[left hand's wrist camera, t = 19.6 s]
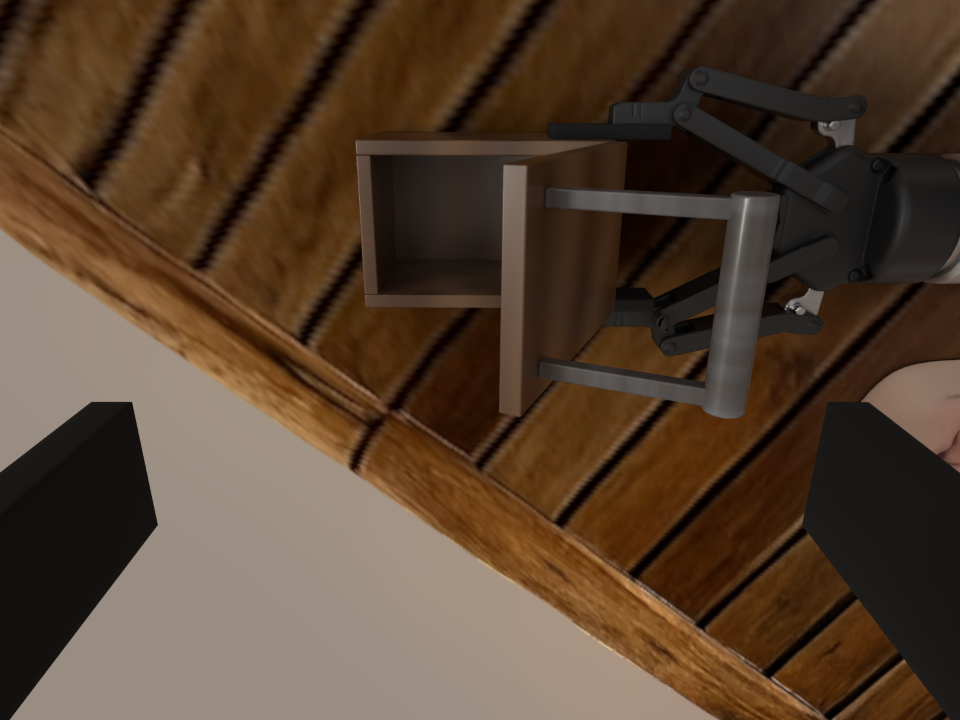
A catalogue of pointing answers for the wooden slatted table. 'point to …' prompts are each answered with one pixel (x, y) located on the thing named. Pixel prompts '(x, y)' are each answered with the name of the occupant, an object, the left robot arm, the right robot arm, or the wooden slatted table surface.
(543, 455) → the wooden slatted table surface
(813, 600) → the wooden slatted table surface
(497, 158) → the chest
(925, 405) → the anatomical model
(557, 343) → the lid
